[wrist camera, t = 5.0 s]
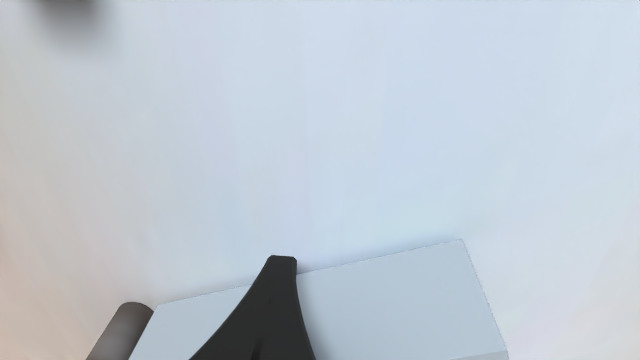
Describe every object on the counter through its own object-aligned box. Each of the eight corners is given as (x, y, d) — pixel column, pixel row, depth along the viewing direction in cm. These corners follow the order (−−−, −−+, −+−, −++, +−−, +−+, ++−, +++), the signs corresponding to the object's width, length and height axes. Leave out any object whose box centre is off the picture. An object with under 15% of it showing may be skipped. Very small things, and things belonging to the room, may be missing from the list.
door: (183, 341, 17) (135, 454, 14) (158, 304, 16) (98, 415, 13) (471, 285, 15) (516, 403, 11) (462, 238, 14) (507, 349, 10)
